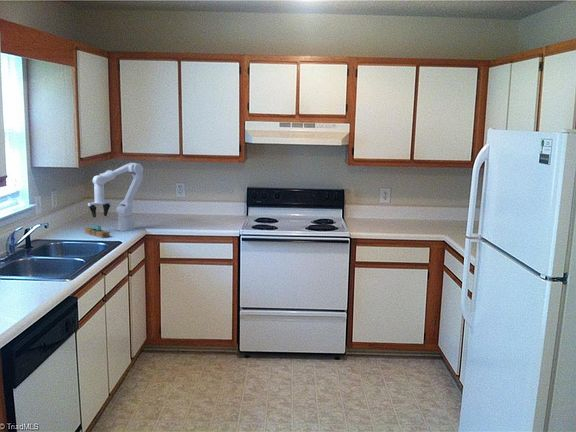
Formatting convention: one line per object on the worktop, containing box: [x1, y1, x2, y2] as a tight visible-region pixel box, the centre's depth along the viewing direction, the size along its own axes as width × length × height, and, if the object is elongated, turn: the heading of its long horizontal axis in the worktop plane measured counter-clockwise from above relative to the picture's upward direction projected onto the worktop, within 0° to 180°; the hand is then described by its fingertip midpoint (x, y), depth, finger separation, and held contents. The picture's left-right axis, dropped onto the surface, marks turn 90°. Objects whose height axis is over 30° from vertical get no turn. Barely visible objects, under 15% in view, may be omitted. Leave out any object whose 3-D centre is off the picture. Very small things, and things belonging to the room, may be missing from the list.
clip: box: [92, 224, 102, 231], centre depth 318 cm, size 6×2×6 cm, turn 51°
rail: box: [83, 227, 111, 239], centre depth 318 cm, size 5×20×3 cm, turn 51°
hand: (99, 216), depth 325 cm, fingers open, 7 cm apart
